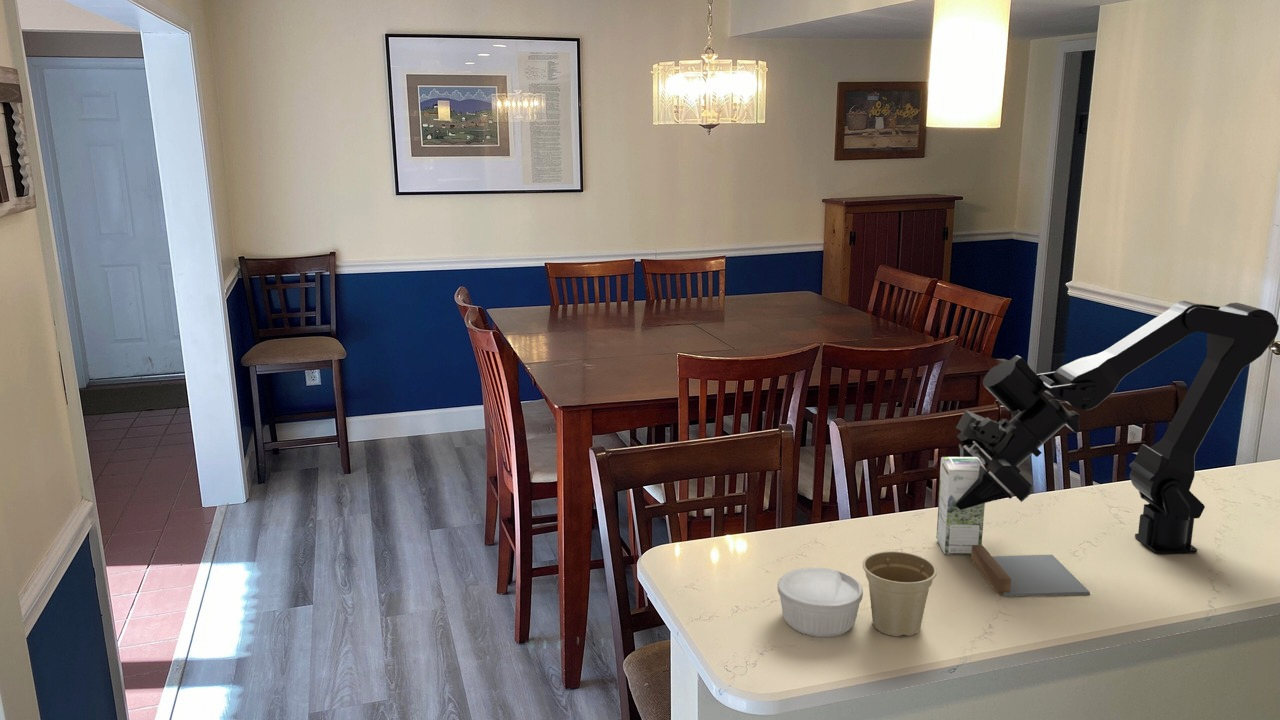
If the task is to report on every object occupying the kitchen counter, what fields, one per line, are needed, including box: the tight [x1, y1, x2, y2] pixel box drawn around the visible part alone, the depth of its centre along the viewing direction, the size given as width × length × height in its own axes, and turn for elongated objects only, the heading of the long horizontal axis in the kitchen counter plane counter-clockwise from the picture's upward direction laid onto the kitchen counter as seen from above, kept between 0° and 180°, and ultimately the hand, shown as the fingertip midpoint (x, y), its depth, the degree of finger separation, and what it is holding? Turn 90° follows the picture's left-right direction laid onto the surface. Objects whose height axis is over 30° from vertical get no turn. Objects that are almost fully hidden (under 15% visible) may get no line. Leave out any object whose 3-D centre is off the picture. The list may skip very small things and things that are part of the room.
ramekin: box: [777, 567, 864, 638], centre depth 123 cm, size 11×11×5 cm
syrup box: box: [935, 456, 987, 556], centre depth 142 cm, size 6×6×14 cm
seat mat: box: [991, 554, 1091, 598], centre depth 134 cm, size 12×12×1 cm
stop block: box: [970, 544, 1011, 596], centre depth 134 cm, size 2×11×2 cm, turn 0°
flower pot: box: [862, 550, 938, 637], centre depth 121 cm, size 9×9×9 cm
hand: (951, 499), depth 142 cm, fingers closed on syrup box, 6 cm apart
